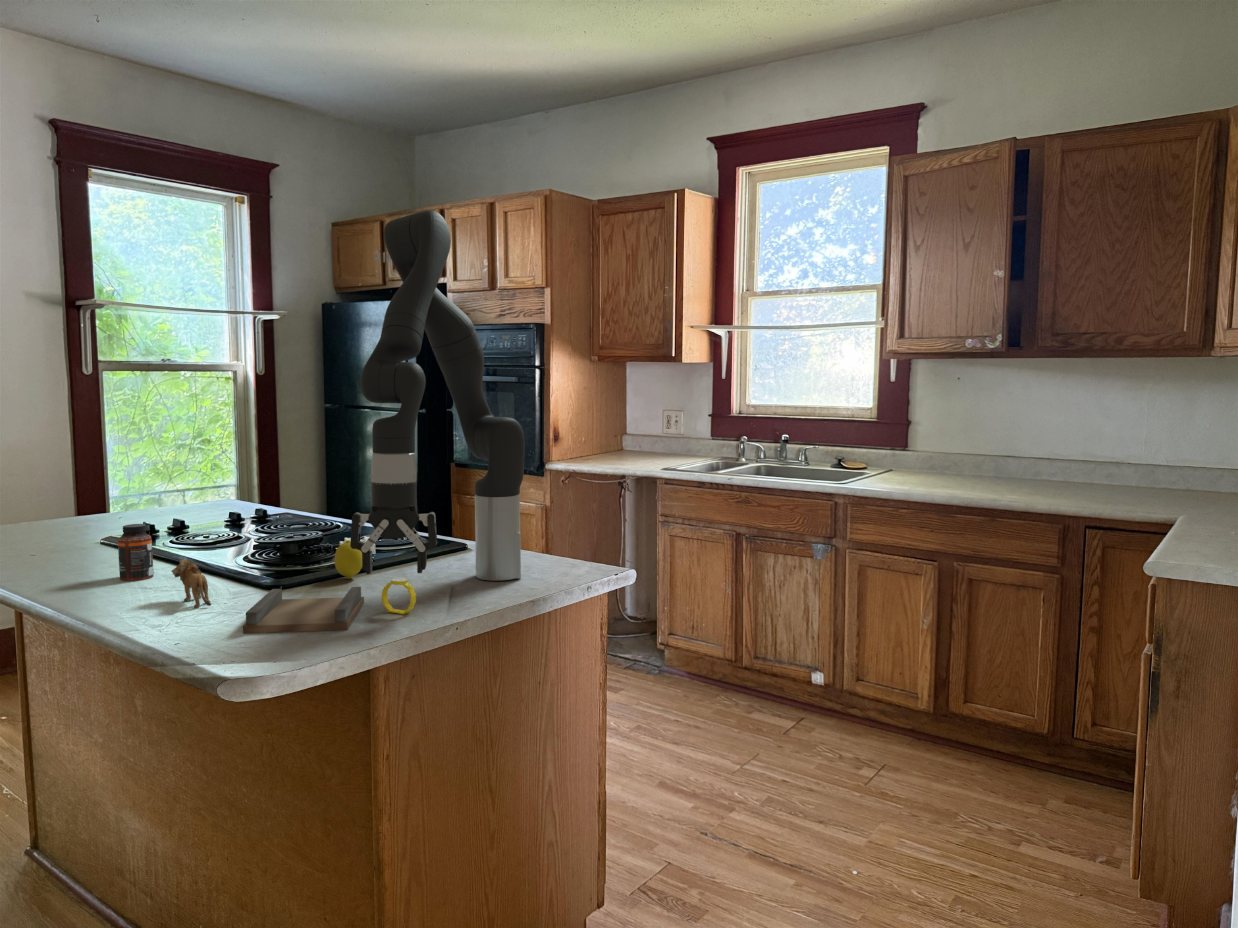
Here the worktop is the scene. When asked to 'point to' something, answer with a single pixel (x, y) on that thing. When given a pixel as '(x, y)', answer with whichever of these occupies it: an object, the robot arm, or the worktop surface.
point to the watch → (404, 582)
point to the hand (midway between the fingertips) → (394, 572)
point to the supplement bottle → (135, 553)
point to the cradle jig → (303, 613)
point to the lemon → (348, 560)
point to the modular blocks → (361, 541)
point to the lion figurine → (192, 581)
